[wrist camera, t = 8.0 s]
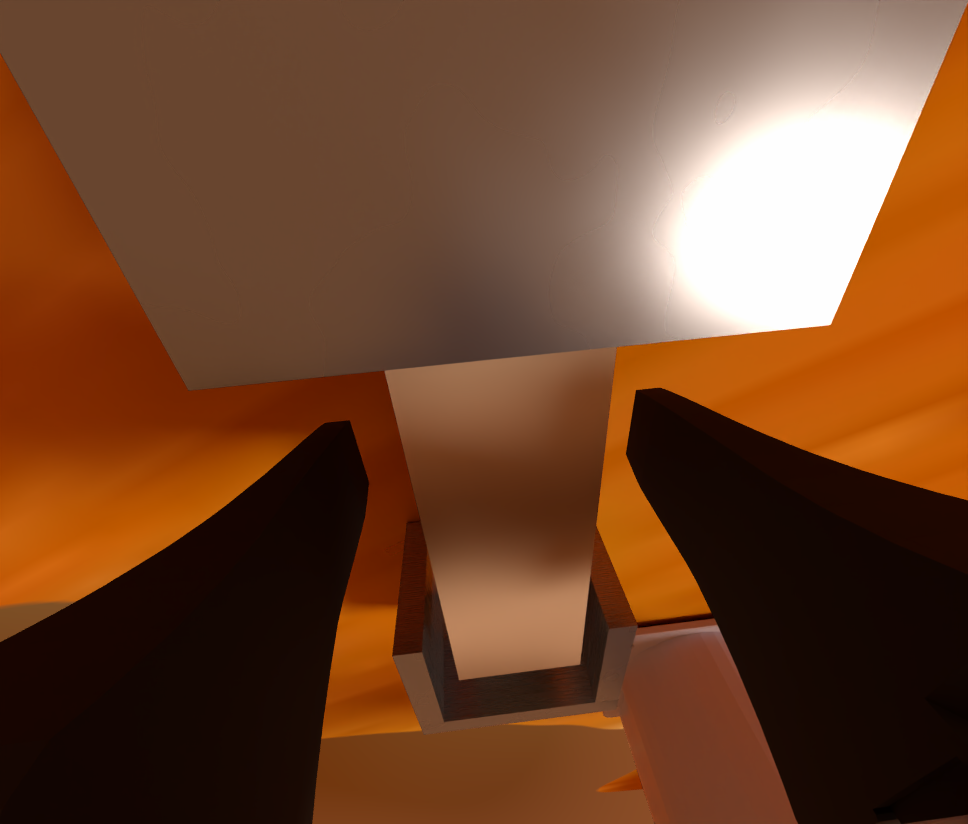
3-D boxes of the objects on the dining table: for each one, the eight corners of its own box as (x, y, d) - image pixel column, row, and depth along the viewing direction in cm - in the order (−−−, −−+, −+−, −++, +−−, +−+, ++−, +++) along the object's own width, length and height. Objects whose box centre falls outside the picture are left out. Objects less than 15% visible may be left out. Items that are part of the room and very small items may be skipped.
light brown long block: (543, 528, 15) (580, 664, 11) (455, 538, 15) (459, 680, 11) (545, 175, 9) (634, 183, 5) (393, 189, 9) (345, 211, 5)
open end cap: (578, 588, 17) (616, 709, 14) (428, 606, 17) (423, 734, 13) (586, 502, 14) (637, 625, 11) (406, 523, 14) (392, 656, 10)
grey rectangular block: (612, 234, 10) (830, 325, 4) (337, 260, 9) (188, 391, 4) (636, -10, 7) (1190, -520, 2) (273, 17, 7) (-290, -468, 2)
